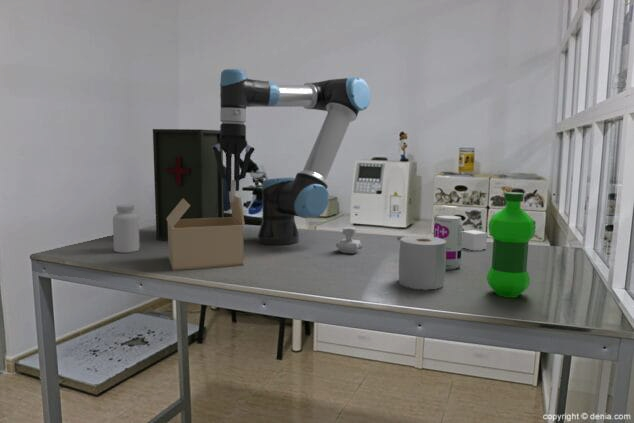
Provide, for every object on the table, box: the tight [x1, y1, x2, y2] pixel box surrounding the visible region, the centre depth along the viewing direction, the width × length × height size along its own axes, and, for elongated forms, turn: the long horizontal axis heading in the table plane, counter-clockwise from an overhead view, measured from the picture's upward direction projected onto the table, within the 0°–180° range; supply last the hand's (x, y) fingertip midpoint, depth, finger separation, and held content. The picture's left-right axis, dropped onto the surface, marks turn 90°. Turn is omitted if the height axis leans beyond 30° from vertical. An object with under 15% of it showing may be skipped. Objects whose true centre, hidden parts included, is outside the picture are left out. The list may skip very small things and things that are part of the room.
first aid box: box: [152, 128, 225, 241], centre depth 187 cm, size 18×18×40 cm
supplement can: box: [433, 214, 464, 270], centre depth 149 cm, size 8×8×15 cm
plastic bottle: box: [486, 191, 537, 298], centre depth 122 cm, size 10×10×25 cm
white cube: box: [462, 229, 488, 252], centre depth 175 cm, size 6×6×6 cm
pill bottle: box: [112, 204, 140, 254], centre depth 164 cm, size 8×8×15 cm
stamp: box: [335, 226, 364, 255], centre depth 166 cm, size 9×7×8 cm
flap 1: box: [166, 199, 190, 228], centre depth 147 cm, size 8×15×1 cm
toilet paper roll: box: [398, 235, 446, 291], centre depth 131 cm, size 12×12×12 cm
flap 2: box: [229, 194, 246, 225], centre depth 153 cm, size 8×15×1 cm
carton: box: [167, 216, 245, 272], centre depth 151 cm, size 20×16×12 cm
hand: (232, 201), depth 153 cm, fingers closed
